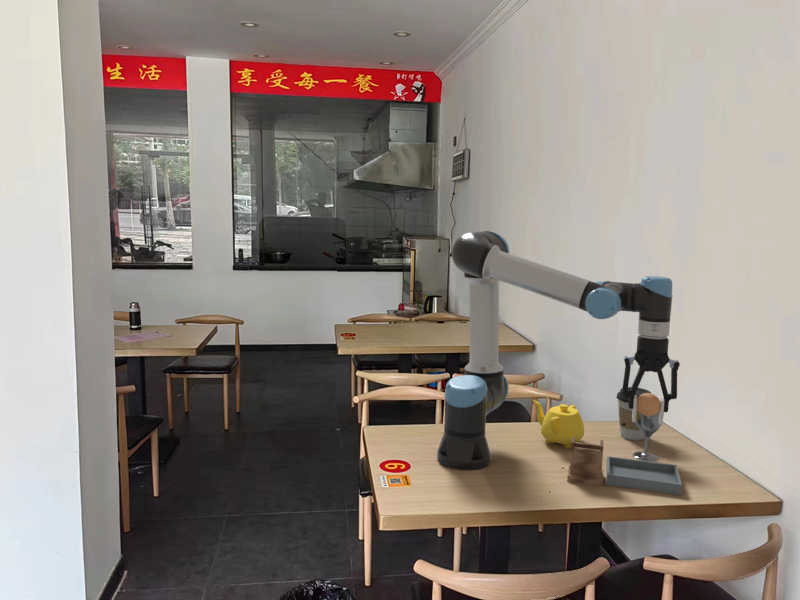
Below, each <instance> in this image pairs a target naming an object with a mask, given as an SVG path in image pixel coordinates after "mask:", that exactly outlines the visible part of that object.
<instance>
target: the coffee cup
mask: <svg viewBox="0 0 800 600" xmlns="http://www.w3.org/2000/svg"><path fill="white" fill-rule="evenodd" d="M631 387H632V386H628V390H630V389H631ZM644 393H651V394H652V391H650V390H648V389H645V388H641V387H638V389H637V391H636V393H635V396H637V399H638V397H639V396H640V395H642V394H644ZM615 397H616V399H617V405H618V419H619V432H620V437H622V438H624V439H625V438H626V440H629V441H642V440H645V438H644V435H643V433H642V432H641V431H640V429H639V428H638V427H637V425H636V422H632V411H633V409H629V405H628V404H629V396H628V395H626V394H623V392H622V388H620V389H619V391H618V392H617V394H616V396H615Z"/></svg>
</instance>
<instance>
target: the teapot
mask: <svg viewBox="0 0 800 600" xmlns="http://www.w3.org/2000/svg"><path fill="white" fill-rule="evenodd" d="M532 401H533V403H534V404H535V406H536V410H537V411H536V412H537V415H536V416H537V417H536V419H537V421H538V424H539V425H540V426H541V427H540V428H541V429H540V432H541V435H542V436H543V439H545V440H546V441H545V443H546V444H548V445H552V444H554V443H556V444H562V446H563V448H565V449H571V446H572V437H575V442H580V440H581V439H582V438H583V437H584V435H585V426H584V421H583V418H582V416H581V413H580V412H579V410H578V409H577V407H576V405H574V404H572V405H570V406H569V405H567V404H564V403H561V404H559V405H556V406H552V407H550V408H549V410H548V411H547V412H546V414H544V411H543V405H542V404H541V402H539V401H537V400H534V399H532Z"/></svg>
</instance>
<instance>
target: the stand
mask: <svg viewBox="0 0 800 600" xmlns="http://www.w3.org/2000/svg"><path fill="white" fill-rule="evenodd" d="M570 449H571V451H570V464H569V465H568V470H567V471H568V472H567V478H566V479H567V481H566V482H571V483H575V484H577V483H578V484H583V485H584V484H585V485H591V486H597V487H604V470H603V458H604V457H603V456H604V440H601V439H600V444H595V443H587V442H585V443H584V442H580V441H578V442H575V437H572V444H571V448H570Z"/></svg>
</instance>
